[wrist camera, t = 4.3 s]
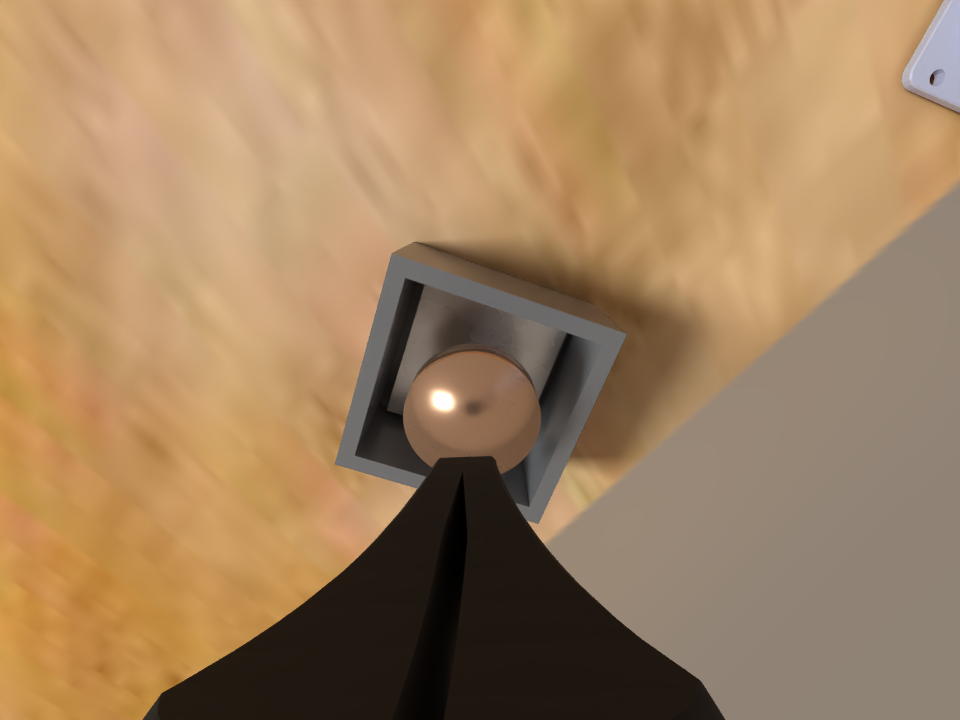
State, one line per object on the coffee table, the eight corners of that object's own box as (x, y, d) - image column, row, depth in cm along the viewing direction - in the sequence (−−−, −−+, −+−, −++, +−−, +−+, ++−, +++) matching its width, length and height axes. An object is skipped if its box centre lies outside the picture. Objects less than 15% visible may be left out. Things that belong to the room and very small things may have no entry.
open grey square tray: (592, 302, 19) (627, 334, 15) (526, 454, 22) (538, 523, 17) (415, 241, 18) (391, 253, 14) (368, 406, 21) (334, 464, 16)
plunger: (566, 323, 18) (596, 365, 13) (516, 443, 20) (526, 519, 15) (428, 275, 18) (407, 302, 13) (389, 404, 20) (358, 470, 15)
